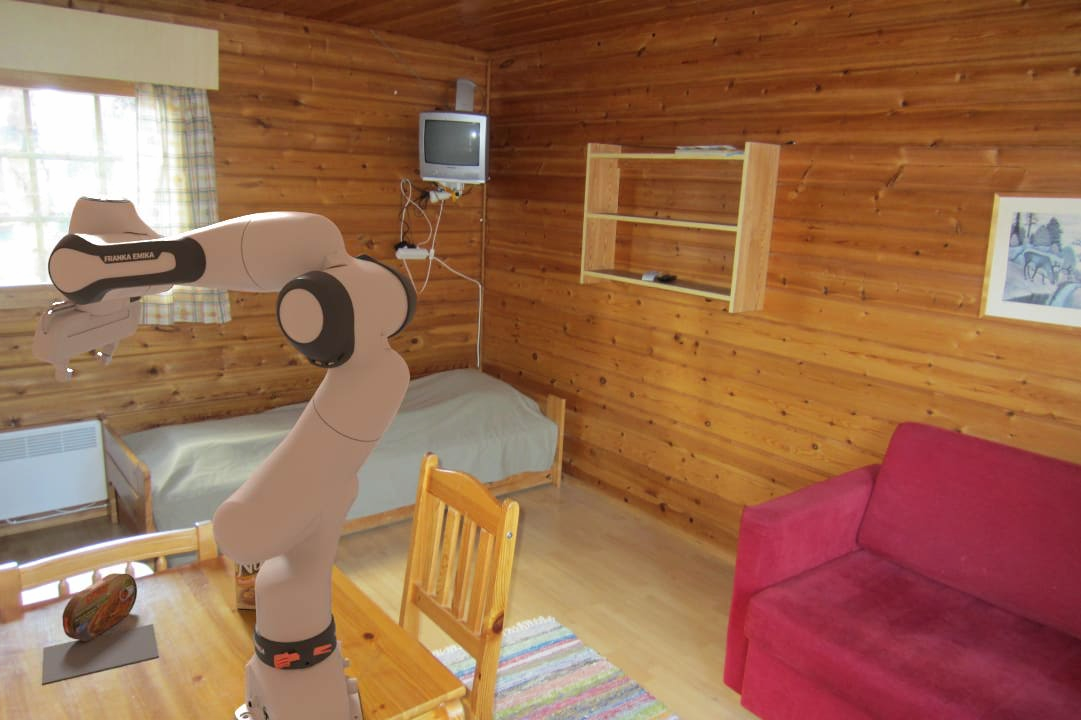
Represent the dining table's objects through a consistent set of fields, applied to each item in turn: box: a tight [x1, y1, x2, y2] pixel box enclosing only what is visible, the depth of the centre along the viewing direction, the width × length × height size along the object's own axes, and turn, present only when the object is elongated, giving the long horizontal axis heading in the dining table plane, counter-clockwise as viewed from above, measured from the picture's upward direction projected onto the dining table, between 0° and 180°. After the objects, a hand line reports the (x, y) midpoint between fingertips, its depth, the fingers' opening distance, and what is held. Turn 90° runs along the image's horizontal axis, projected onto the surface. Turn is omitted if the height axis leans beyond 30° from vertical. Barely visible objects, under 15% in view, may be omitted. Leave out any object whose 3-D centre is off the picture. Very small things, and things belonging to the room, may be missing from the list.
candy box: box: [233, 561, 265, 610], centre depth 154 cm, size 9×4×15 cm, turn 87°
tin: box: [61, 572, 138, 641], centre depth 145 cm, size 15×3×8 cm, turn 165°
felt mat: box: [41, 623, 160, 685], centre depth 139 cm, size 11×17×1 cm, turn 120°
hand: (84, 371), depth 134 cm, fingers open, 8 cm apart
